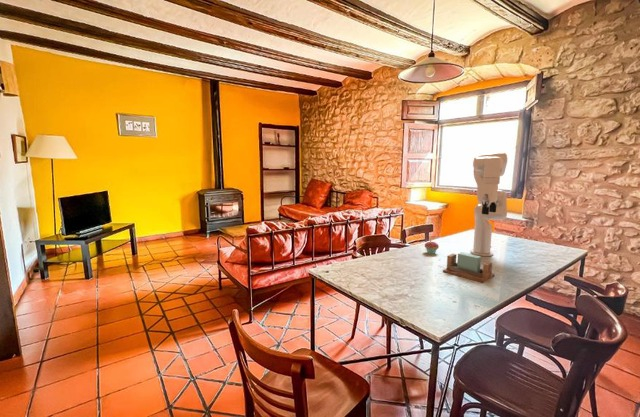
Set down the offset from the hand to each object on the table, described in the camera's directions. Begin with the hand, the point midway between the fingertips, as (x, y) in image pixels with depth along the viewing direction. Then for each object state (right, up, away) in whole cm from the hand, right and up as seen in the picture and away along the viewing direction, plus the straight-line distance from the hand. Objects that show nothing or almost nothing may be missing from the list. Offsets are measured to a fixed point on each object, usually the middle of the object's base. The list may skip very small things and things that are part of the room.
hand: (488, 213), depth 158 cm
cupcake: (-19, -26, +33) cm, 46 cm away
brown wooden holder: (-13, -31, -4) cm, 34 cm away
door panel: (-13, -30, -4) cm, 33 cm away
